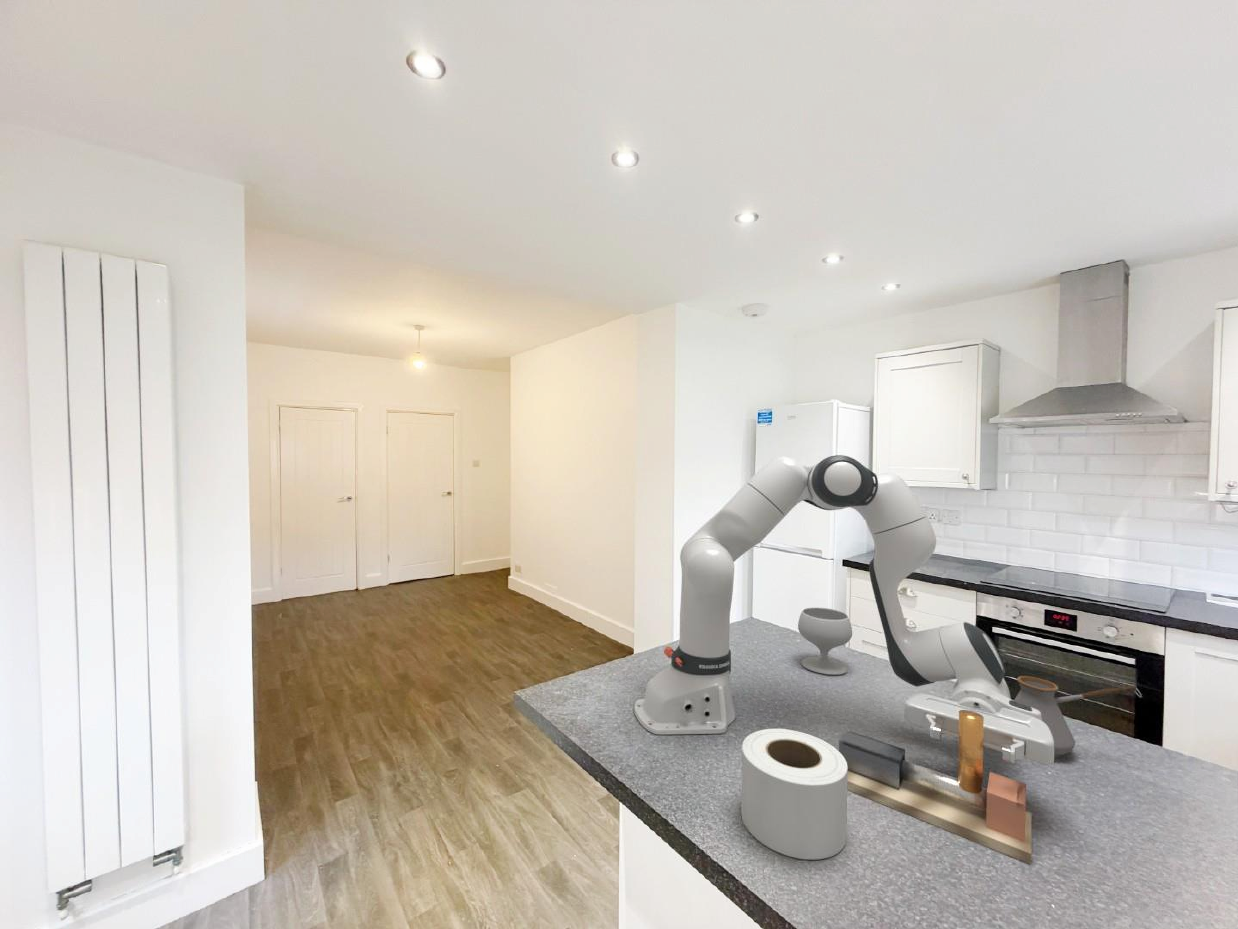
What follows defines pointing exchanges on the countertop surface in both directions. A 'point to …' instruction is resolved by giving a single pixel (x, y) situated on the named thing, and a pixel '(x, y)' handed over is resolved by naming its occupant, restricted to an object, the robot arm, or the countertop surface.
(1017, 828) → the socket
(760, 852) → the countertop surface
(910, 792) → the board
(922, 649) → the robot arm
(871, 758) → the sleeve
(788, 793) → the toilet paper roll
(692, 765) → the countertop surface
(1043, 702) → the coffee pot
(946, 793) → the tube
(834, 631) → the chalice
